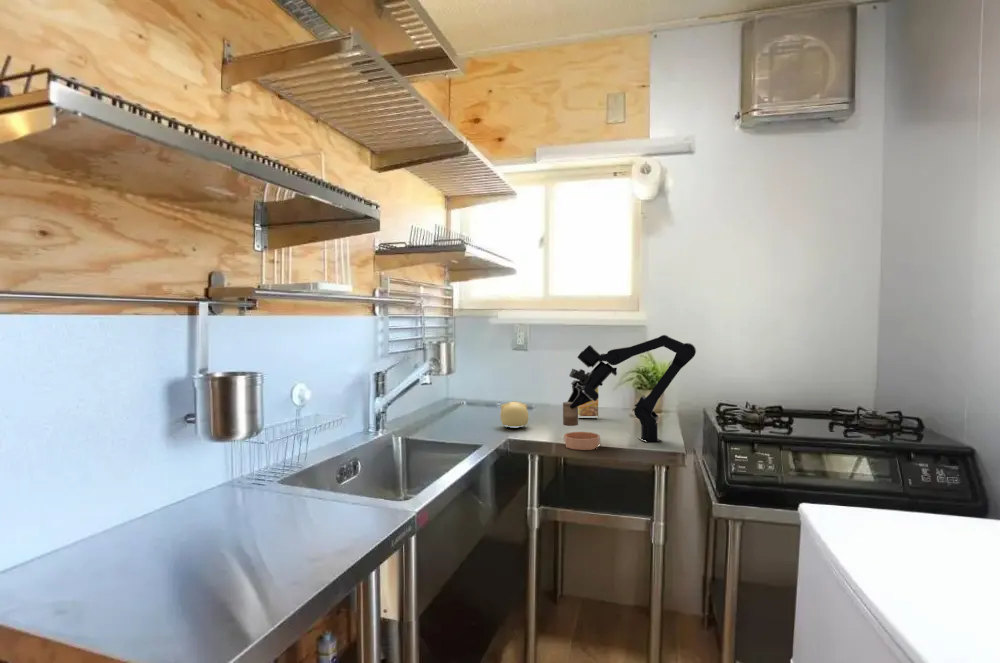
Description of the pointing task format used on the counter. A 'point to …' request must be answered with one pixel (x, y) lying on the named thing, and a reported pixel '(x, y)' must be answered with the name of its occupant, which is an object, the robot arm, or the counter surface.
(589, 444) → the terracotta dish
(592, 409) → the candy box
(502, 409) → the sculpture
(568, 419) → the walnut canister
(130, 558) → the counter surface
